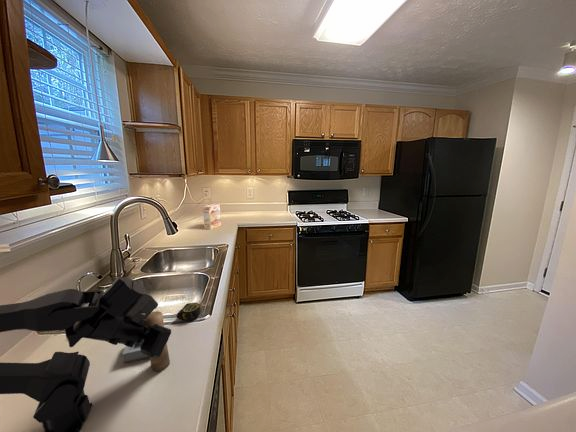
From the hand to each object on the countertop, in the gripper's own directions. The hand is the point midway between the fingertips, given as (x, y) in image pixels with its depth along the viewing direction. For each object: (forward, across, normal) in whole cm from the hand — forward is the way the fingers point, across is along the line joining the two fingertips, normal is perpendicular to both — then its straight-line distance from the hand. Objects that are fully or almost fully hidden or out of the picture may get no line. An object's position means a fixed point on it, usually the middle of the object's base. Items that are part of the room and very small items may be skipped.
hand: (161, 337), depth 66 cm
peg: (+4, 0, +6) cm, 8 cm away
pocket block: (+6, +10, +5) cm, 12 cm away
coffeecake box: (+90, +92, -79) cm, 151 cm away
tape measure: (+18, +10, -7) cm, 22 cm away
